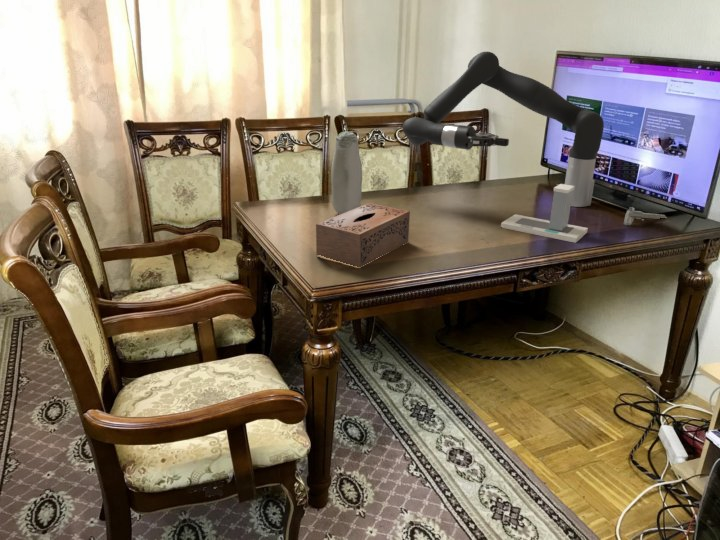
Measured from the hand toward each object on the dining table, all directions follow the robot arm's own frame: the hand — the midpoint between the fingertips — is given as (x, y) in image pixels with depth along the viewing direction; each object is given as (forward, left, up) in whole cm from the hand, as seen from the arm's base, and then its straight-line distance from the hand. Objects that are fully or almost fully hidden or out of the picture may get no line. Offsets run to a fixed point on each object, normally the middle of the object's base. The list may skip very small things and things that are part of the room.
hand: (507, 142), depth 185 cm
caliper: (-50, +2, -26) cm, 56 cm away
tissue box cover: (+47, +25, -26) cm, 60 cm away
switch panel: (-12, +10, -26) cm, 30 cm away
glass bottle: (+50, -9, -26) cm, 58 cm away
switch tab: (-15, +13, -24) cm, 31 cm away
